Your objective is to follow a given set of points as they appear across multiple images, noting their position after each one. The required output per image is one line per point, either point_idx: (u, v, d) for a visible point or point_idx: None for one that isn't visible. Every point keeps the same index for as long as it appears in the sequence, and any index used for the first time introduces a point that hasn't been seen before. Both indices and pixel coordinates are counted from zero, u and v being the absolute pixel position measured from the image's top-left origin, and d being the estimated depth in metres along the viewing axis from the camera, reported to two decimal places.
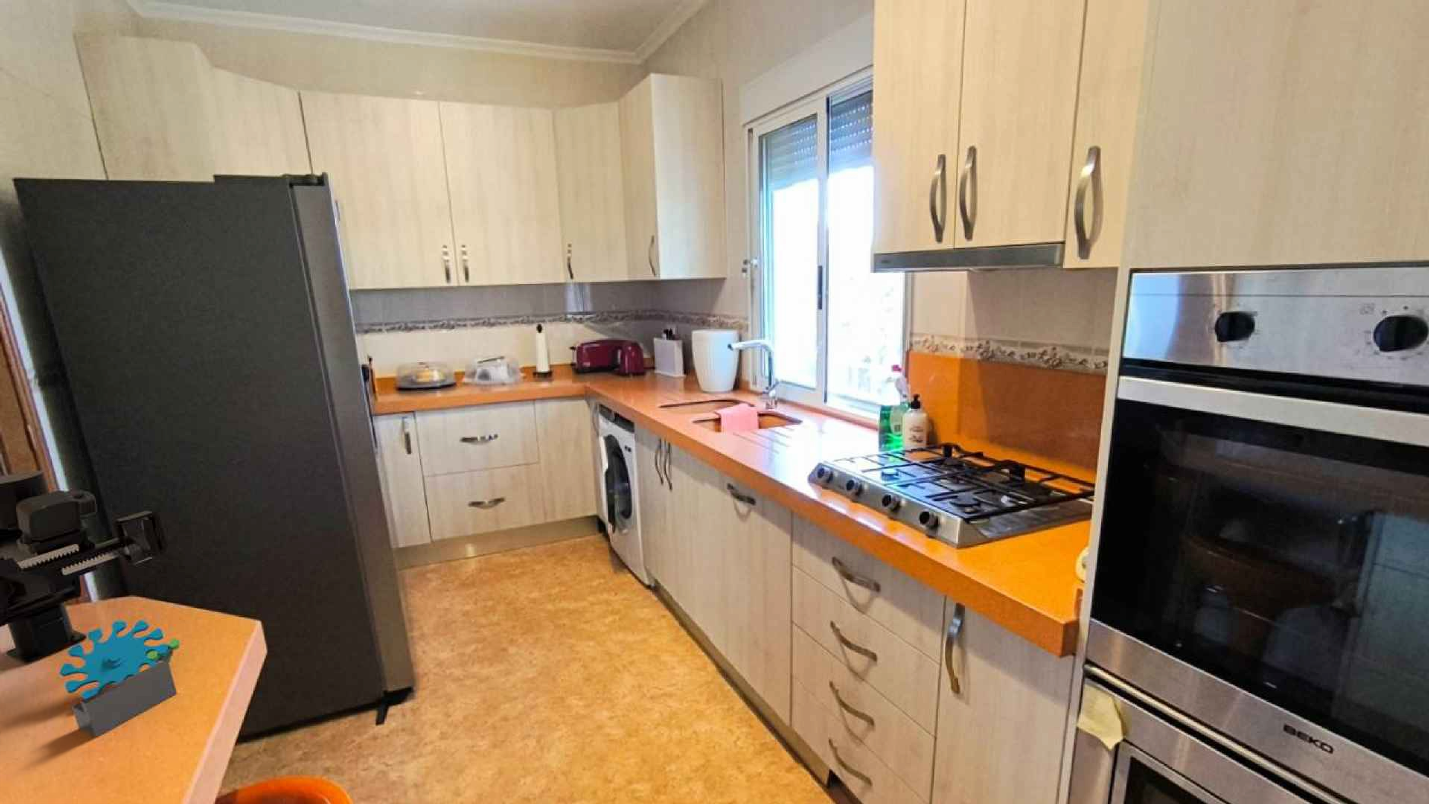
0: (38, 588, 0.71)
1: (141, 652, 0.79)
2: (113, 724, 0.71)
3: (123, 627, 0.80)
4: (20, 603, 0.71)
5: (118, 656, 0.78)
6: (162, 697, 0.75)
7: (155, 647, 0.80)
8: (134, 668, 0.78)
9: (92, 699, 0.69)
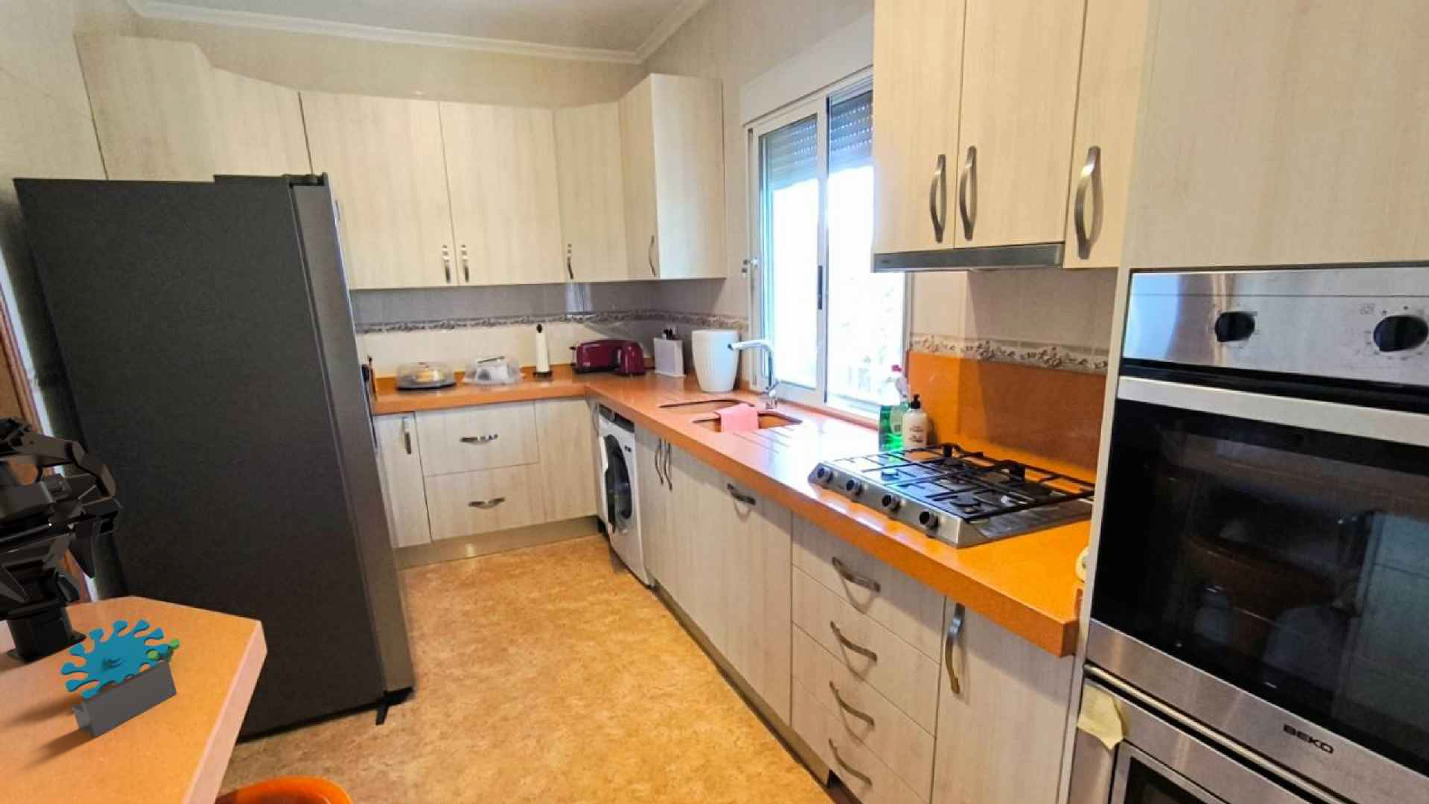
0: (11, 593, 0.76)
1: (141, 652, 0.79)
2: (113, 724, 0.71)
3: (124, 626, 0.80)
4: None
5: (118, 655, 0.78)
6: (162, 697, 0.75)
7: (155, 647, 0.80)
8: (134, 668, 0.78)
9: (92, 699, 0.69)
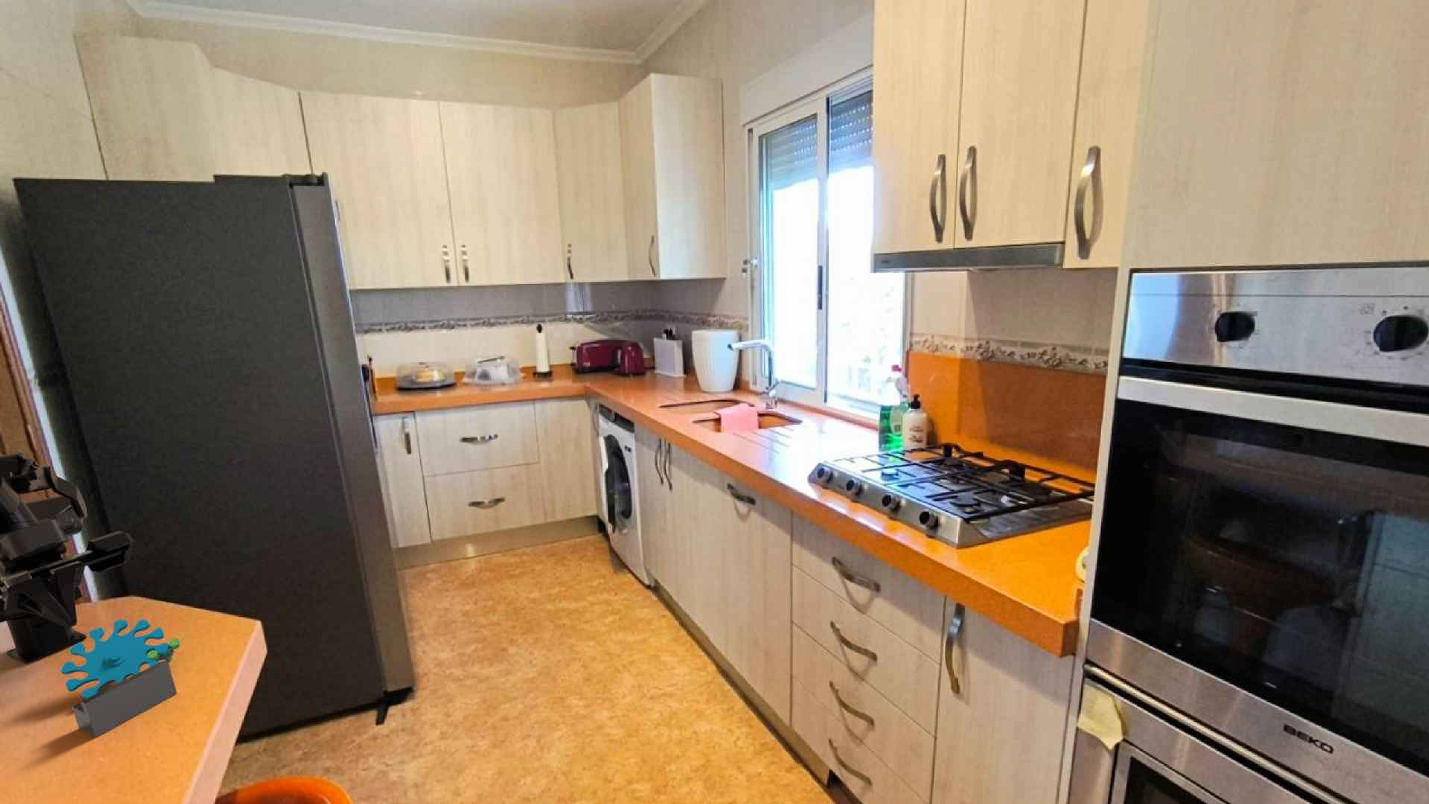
0: (57, 619, 0.79)
1: (141, 651, 0.79)
2: (113, 724, 0.71)
3: (124, 626, 0.80)
4: (34, 613, 0.80)
5: (118, 655, 0.78)
6: (162, 697, 0.75)
7: (155, 646, 0.80)
8: (134, 668, 0.78)
9: (92, 699, 0.69)
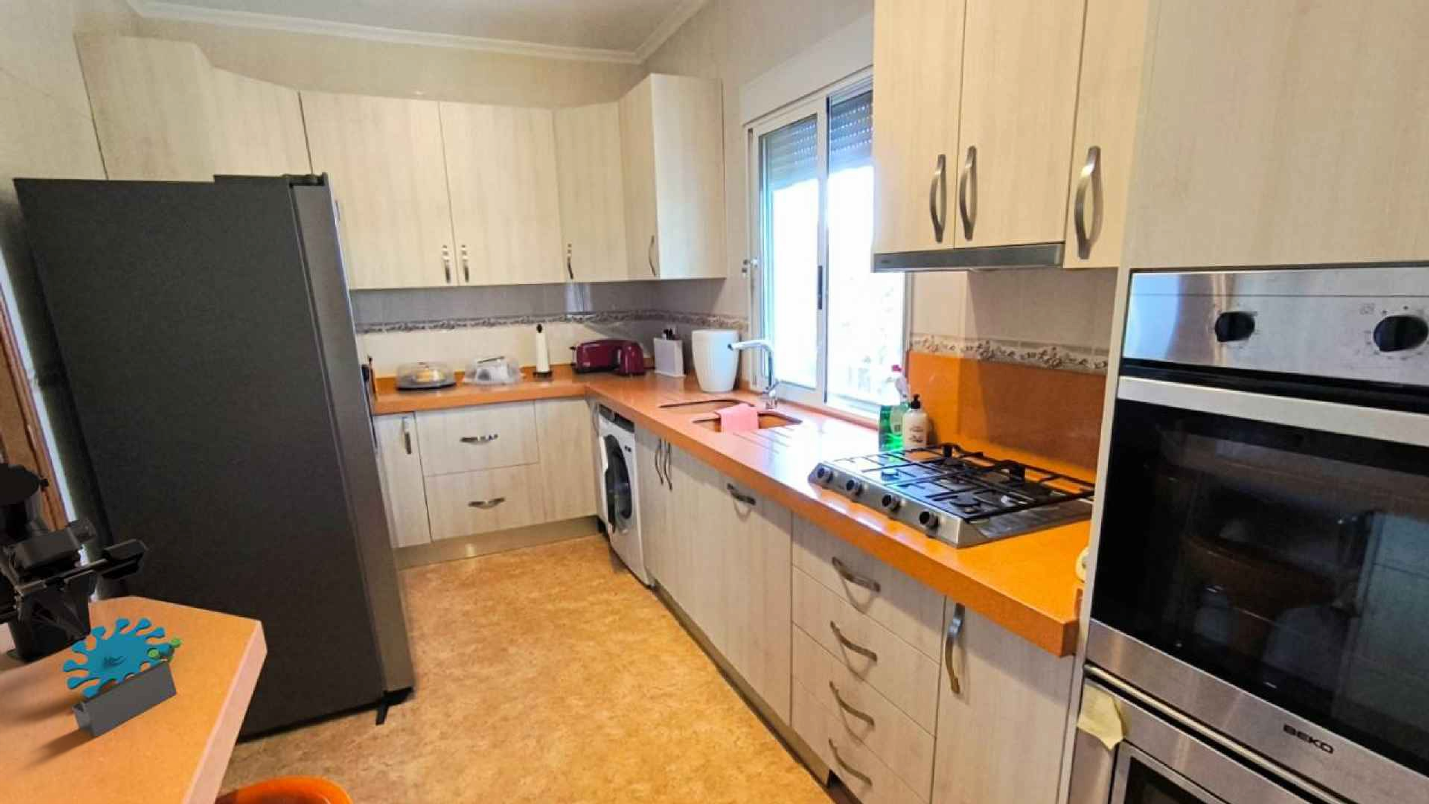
0: (72, 628, 0.78)
1: (142, 650, 0.79)
2: (113, 724, 0.71)
3: (126, 624, 0.80)
4: (48, 623, 0.78)
5: (119, 654, 0.78)
6: (162, 697, 0.75)
7: (156, 645, 0.80)
8: (135, 667, 0.78)
9: (92, 699, 0.69)
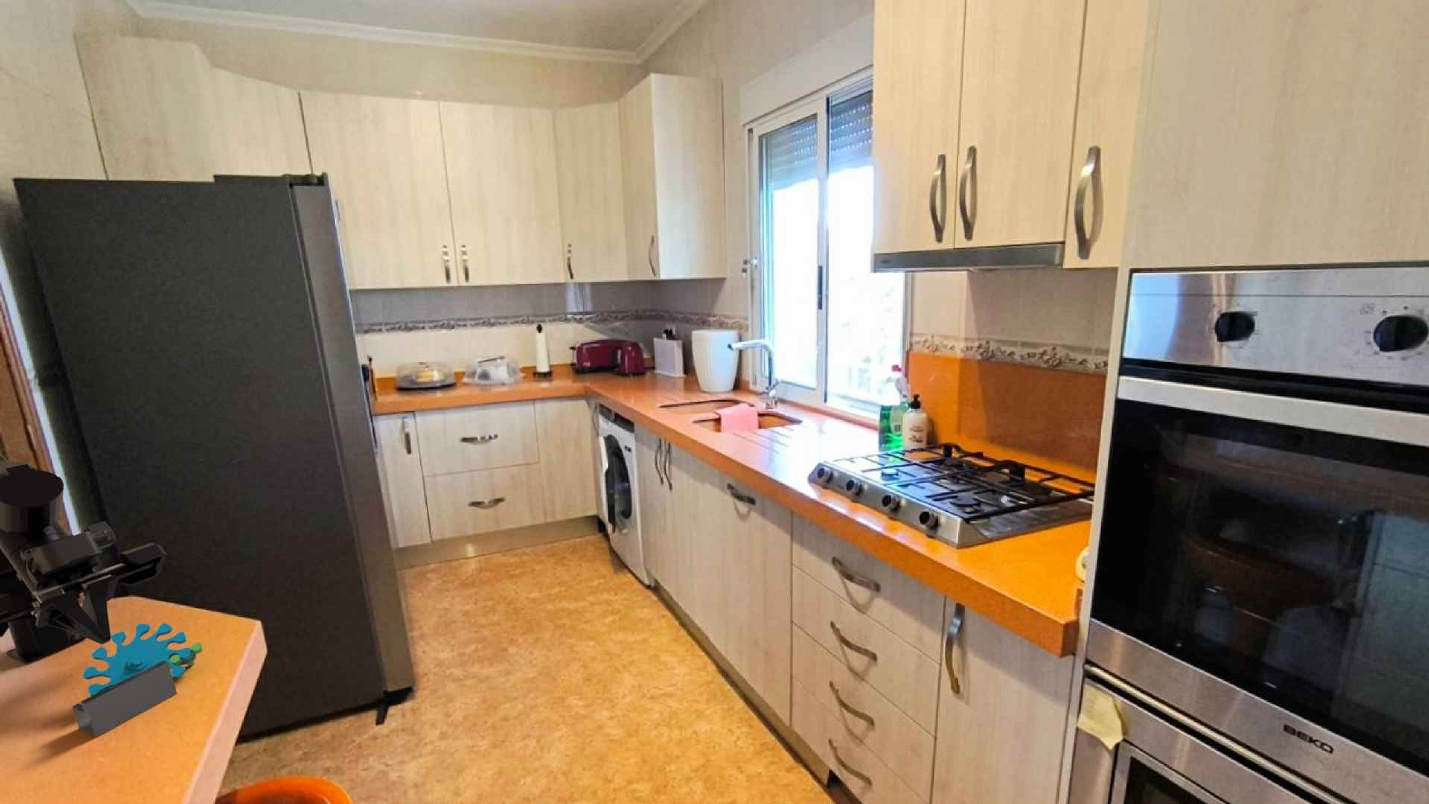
0: (91, 635, 0.76)
1: (164, 656, 0.78)
2: (113, 724, 0.71)
3: (147, 630, 0.79)
4: (66, 629, 0.77)
5: (141, 660, 0.76)
6: (162, 697, 0.75)
7: (178, 651, 0.79)
8: None
9: (92, 699, 0.69)
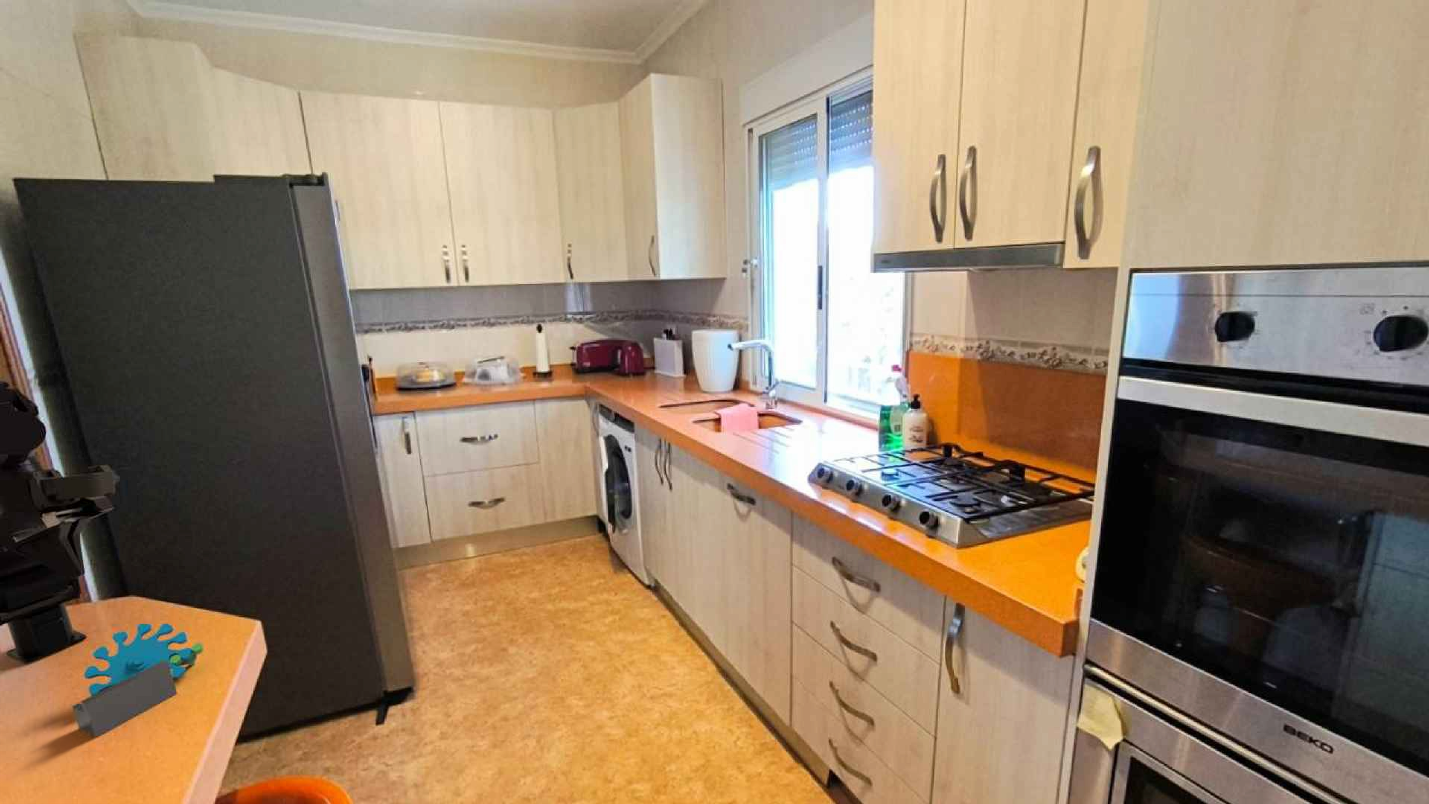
0: (67, 567, 0.80)
1: (164, 656, 0.78)
2: (113, 724, 0.71)
3: (148, 630, 0.79)
4: (32, 558, 0.78)
5: (141, 660, 0.77)
6: (162, 697, 0.75)
7: (178, 651, 0.79)
8: None
9: (92, 699, 0.69)
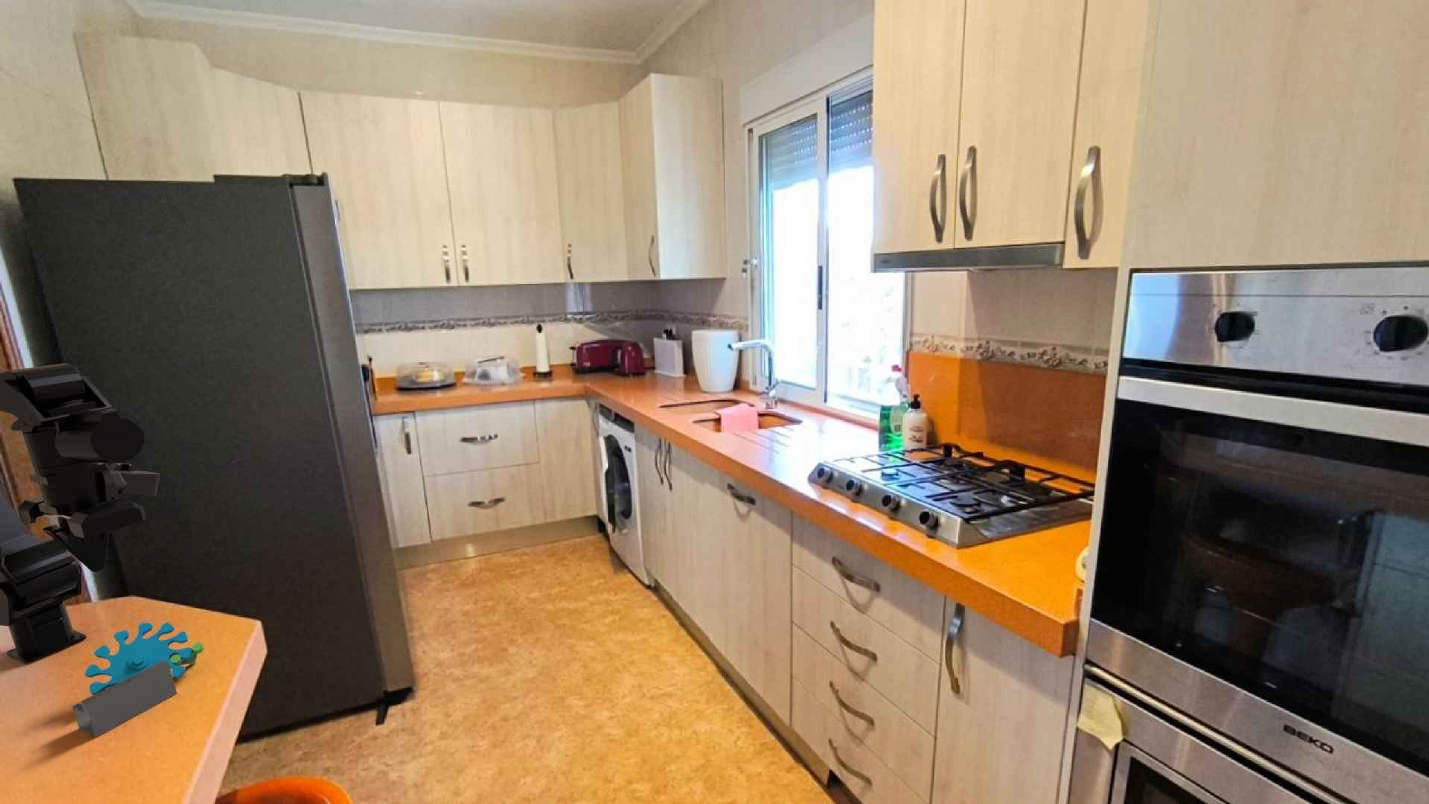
0: (98, 560, 0.82)
1: (165, 655, 0.78)
2: (113, 724, 0.71)
3: (149, 629, 0.79)
4: (75, 548, 0.79)
5: (142, 659, 0.77)
6: (162, 697, 0.75)
7: (179, 650, 0.79)
8: None
9: (92, 699, 0.69)
